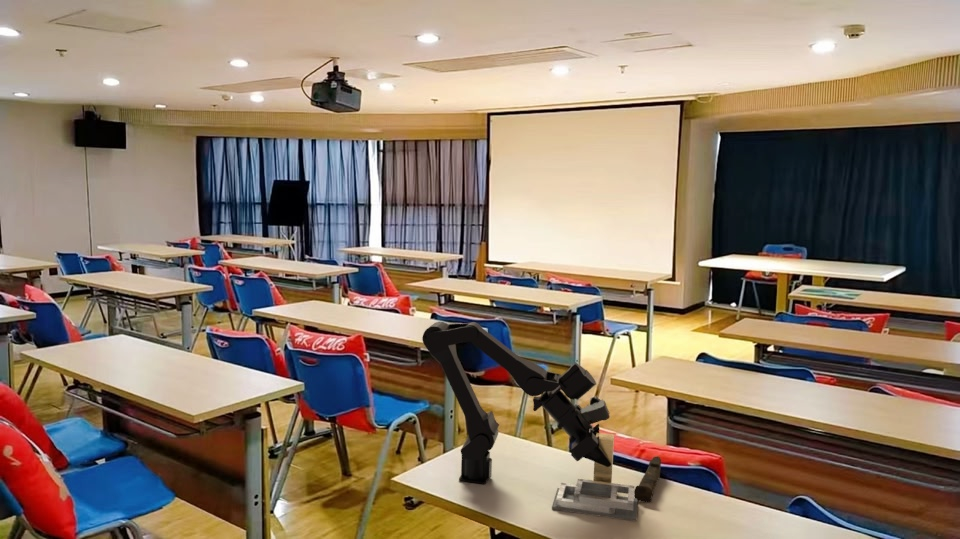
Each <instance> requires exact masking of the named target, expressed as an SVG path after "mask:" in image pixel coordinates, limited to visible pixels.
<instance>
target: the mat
mask: <svg viewBox="0 0 960 539" xmlns="http://www.w3.org/2000/svg"><path fill="white" fill-rule="evenodd" d="M559 488H560V487H557V489H556V492H555V495H554V498H553V502H552V506H551V509H552V510H555V511H562V512H568V513H577V514H584V515H590V516H591V515H592V516H597V517H605V518H611V519H619V520H627V521H631V522H633V521H634V522H637V519H638V515H637V514H638V501H637V498H635V497H634V505H633V510H626V509H618V508H615V515H613V514H606V513H599V512H592V511H585V510H577V509H570V508H563V507H556V498H557V495H558V492H559ZM583 495H585V494H583ZM591 496H592V495H591ZM598 497H600V496H598ZM573 498H574V493H570V492H565V496H564V499H571V500H573ZM606 498H607V497H606ZM616 499H621V500H628V496H622V495H617V498H616Z"/></svg>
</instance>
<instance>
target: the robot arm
mask: <svg viewBox="0 0 960 539" xmlns="http://www.w3.org/2000/svg"><path fill="white" fill-rule="evenodd" d="M421 340H422V343H423V345H424V347H425V349H427V351H428V353H429V354H430V356H431V357H433V359H434V360H435V361H437V362H438V363H439V364H440V365H441V368H442V371H443V372H444V374H445V376H446V379H447V381H448V383H449V386H450V387H451V389H452V392H453V395H454V396H455V399H456V400H457V403H458V404H459V407H460V409H461V411H462V413H463V415H464V418H465V422H466V423H465V424H466V431H467V438H466V440H465V441H464V444H463V445H462V447H461V449H460V454H461V466H460V468H461V470H460V476H459V478H458V481H460V482H467V483H475V484H479V485H481V484H482V485H485V484H486V483H487V481H488V480H489V479H490V478H491V476H492V471H493V470H492V469H493V459H492V458H491V456H490V455H491V454H490V453H491V452H490V451H491V450H492V449H493V448H494V445H495V443H496V440H497V439H498V435H499V426H500V423H499V422H497V420H496V419H495V416H494V413H493V410H491V411H488V412H486V411H485V410H484V409H483V407H482V405H481V404H480V401H479V400H478V397H477V396H476V392H475V391H474V389H473V387H472V384H471V382H470V380H469V378H468V376H467V373H466V372H465V371H466V370H464V368H463V365H462V364H461V360H460V359H459V357H458V354H457V344H462V343H471V344H472V345H473V346H474V347H476V348H477V349H479V350H480V352H482V353H483V354H485V355H486V356H487V357H489V358H490V359H491V360H492V361H494V362H495V363H496V364H498V365H499V366H500V367H501V368H502V369H504V370H505V371H506V372H508V374H509V375H511V377H512V379H513V380H514V381H515V383H516V384H517V386H519V388H521V390H522V391H523V392H524V394H526V395H527V396H530V397H533V399H532V401H533V402H532V403H533V409H532V410H533V411H534V412H537V411H538V410H539V409H540V408H541V407H542V408H543V409H544V410H545V411H546V413H547V414H548V415H549V416H550V417H551V418H552V419H553V420H554V421H555V422H556V423H557V425H556V427H557V428H558V429H559V430H561V429H562V430H563V431H564V432H565V433H566V434H567V436H569V437H568V440H569V441H570V442H571V449H570V451H571V452H570V456H571V457H572V458H573V459H574V460H575V462H579V461H580V460H582V459H583V458H584V459H587V460H589V461H592V462H597V463H599V464H601V465H604V466H606V467H609V466H611V462H610V461H609V459H608V458H607V456H606V455H605V453H604V452H603V450H602V449H601V447H600V446H599V436H598V437H597V438H596V434H597V433H600V423H599V422H602V421H607V420H608V419H610V412H609V408H608V406H607V403H606V402H605V400H604V399H600V398H599V397H597V395H595V396H593V397H590V400H589V404H586V406H584V407H581V406H580V404H577V403H576V404H574V403H573V402H572V401H571V400H573V401H574V400H577V401H578V400H580V399H581V398H582V397H583V396H585V394H587V393H588V392H589V391H591V389H593V388H594V387H595V386H596V385H597V382H596V379H595V378H594V377H593V376H592V374H591V372H590V371H588V369H585V368H584V367H583V366H582V365H579V363H578V362H575V361H574V363H573V364H572V365H571V366H570V367H569V368H568V369H567V370H566V371H565V372H563V373H562V374H561V373H556V372H553V371H547V370H546V369H545V368H544V367H542V366H540V365H539V364H537V363H535V362H533V361H531V360H528V359H525V358H524V357H523V358H522V357H521V356H519V354H516V353H515V352H514V351H512V350H511V349H510V348H509V347H508V346H506V345H505V344H504V343H502V342H501V341H500V340H498V339H497V338H496V337H494V335H492V334H491V333H490V332H488V331H487V330H486V329H485V328H483V327H482V326H481V325H480V323H478V322H475V321H472V322H471V321H470V322H466V323H461V322H460V323H459V322H458V323H447V322H444V321H436V322H434V323H433V324H431V325H430V326H428V328H426V329H425V330H424V332H423V334H422V338H421ZM596 423H597V424H596ZM593 424H595V426H594V425H593Z"/></svg>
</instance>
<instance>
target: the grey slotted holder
mask: <svg viewBox="0 0 960 539" xmlns="http://www.w3.org/2000/svg"><path fill="white" fill-rule="evenodd" d="M558 488H559V492H558V495H557V498H556V507H563V508H570V509H577V510H585V511H592V512H599V513H606V514H613V515H615V508H618V509H626V510H633V505H634V498H635V497H634V491H635V485H629V484H621V483H616V482H612V483H608V482H600V481H593V480H592V479H585V478H584V479H583V478H577V480H576V484H575V483H574V484H572V483H567V482H566V483H565V482H561V483H560V486H559V487H558ZM565 492H570V493H574V498H573V500H571V499H564V496H565ZM618 493H620V494H626V495H627V497H628V500H621V499H616V498H617V496H618ZM583 494H585V495H583ZM591 495H592V496H591ZM598 496H600V497H598ZM606 497H607V498H606Z"/></svg>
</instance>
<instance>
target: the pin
mask: <svg viewBox="0 0 960 539" xmlns="http://www.w3.org/2000/svg"><path fill="white" fill-rule="evenodd" d="M598 436H599V446H600V447H601V449H602V450H603V452H604V453H605V455H606V456H607V458H608V459H609V461H610V462H611V466H609V467H606V466H604V465H601V464H599V463H597V462H594V461H593V462H594V464H593V480H592V481H600V482H608V483H613V482H612V481H613V480H612V479H613V465H614V464H613V462H614V442H615V434H612V433H611V434H610V433H604V432H603V433H602V432H599V433H597V434H596V438H597V437H598Z"/></svg>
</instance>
